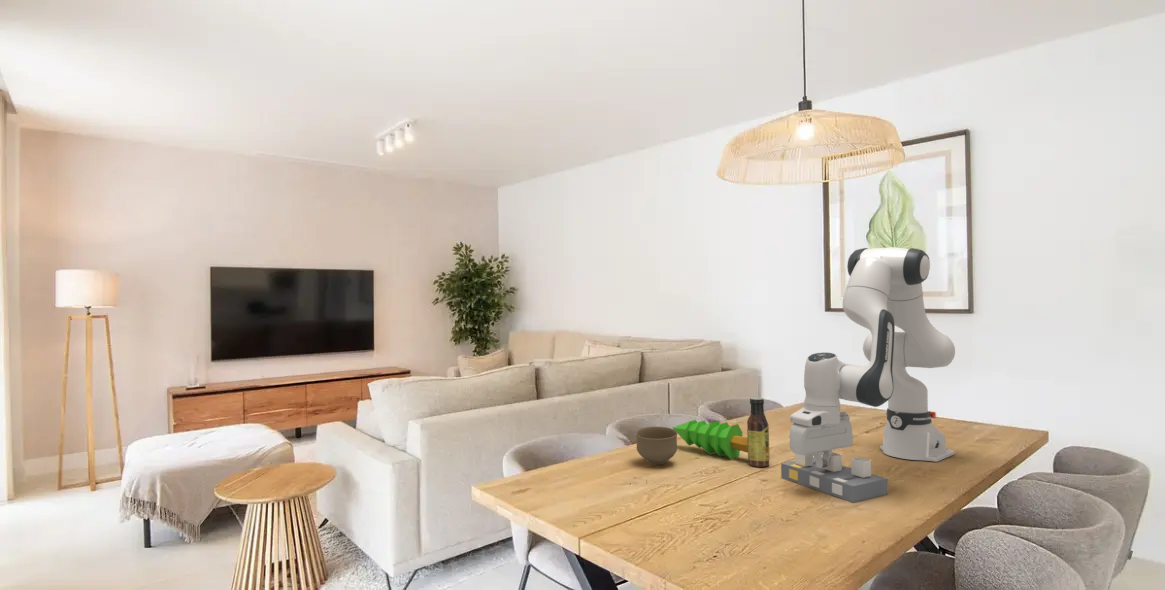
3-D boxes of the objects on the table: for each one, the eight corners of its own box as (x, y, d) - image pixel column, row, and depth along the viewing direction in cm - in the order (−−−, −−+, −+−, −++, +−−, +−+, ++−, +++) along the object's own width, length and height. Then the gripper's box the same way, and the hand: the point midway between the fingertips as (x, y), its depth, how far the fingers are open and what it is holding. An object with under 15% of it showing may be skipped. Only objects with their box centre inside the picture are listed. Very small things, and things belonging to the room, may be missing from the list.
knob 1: (802, 462, 165) (802, 447, 165) (813, 465, 162) (812, 449, 162) (795, 463, 164) (795, 448, 164) (805, 466, 161) (805, 451, 161)
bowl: (630, 467, 176) (630, 433, 176) (642, 456, 187) (642, 425, 188) (672, 471, 171) (672, 437, 171) (681, 460, 183) (681, 428, 183)
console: (813, 471, 171) (813, 456, 171) (887, 494, 151) (887, 477, 151) (780, 477, 165) (780, 462, 165) (852, 502, 145) (852, 485, 145)
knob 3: (859, 472, 155) (859, 456, 155) (871, 476, 152) (870, 459, 152) (851, 474, 154) (851, 458, 154) (863, 477, 151) (863, 461, 151)
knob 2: (830, 467, 160) (830, 451, 160) (841, 470, 157) (841, 454, 157) (823, 468, 159) (822, 452, 159) (834, 471, 156) (833, 455, 156)
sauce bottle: (771, 468, 174) (769, 400, 174) (749, 467, 175) (747, 400, 175) (768, 462, 180) (766, 396, 181) (746, 461, 181) (745, 396, 182)
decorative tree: (749, 423, 178) (667, 407, 199) (741, 461, 175) (659, 440, 196) (765, 432, 186) (685, 415, 207) (757, 468, 183) (676, 448, 204)
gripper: (838, 409, 164) (839, 458, 164) (785, 416, 155) (785, 469, 155) (858, 412, 159) (859, 464, 159) (804, 420, 149) (805, 475, 149)
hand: (822, 467), depth 156 cm, fingers closed
